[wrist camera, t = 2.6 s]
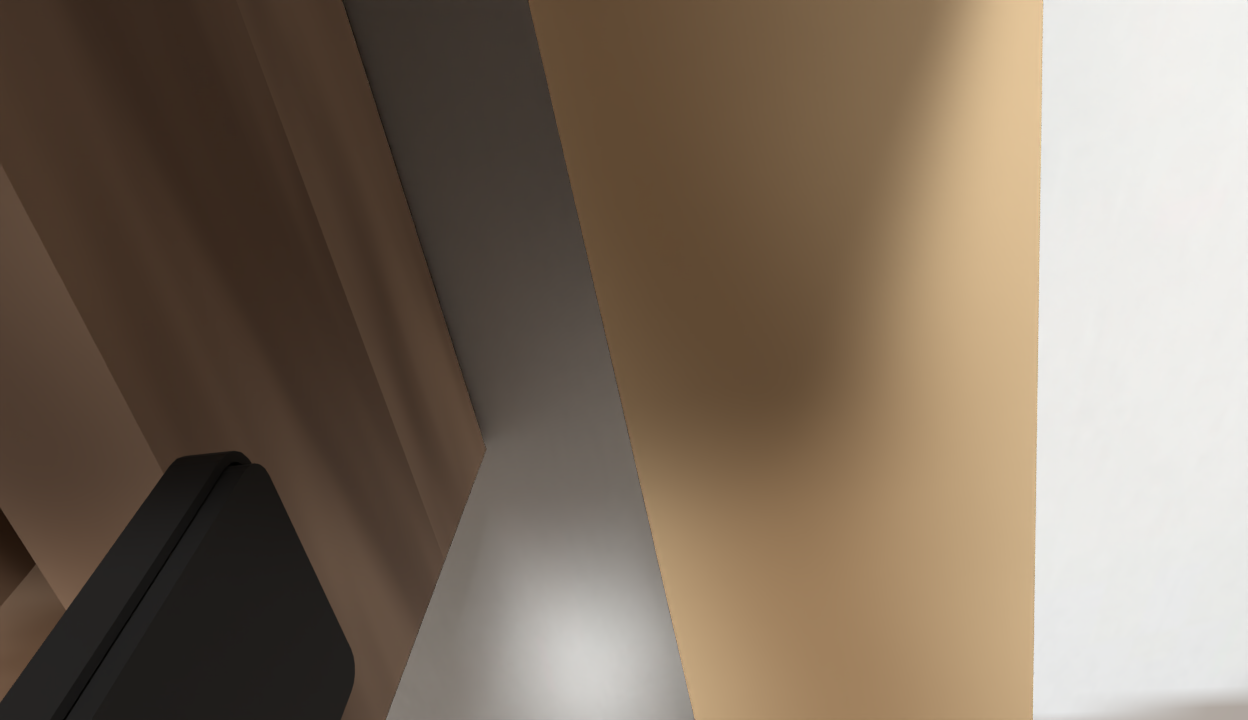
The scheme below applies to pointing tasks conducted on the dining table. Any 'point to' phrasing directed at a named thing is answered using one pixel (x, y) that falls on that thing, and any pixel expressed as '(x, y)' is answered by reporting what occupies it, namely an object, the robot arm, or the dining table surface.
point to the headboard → (217, 307)
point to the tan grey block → (821, 335)
